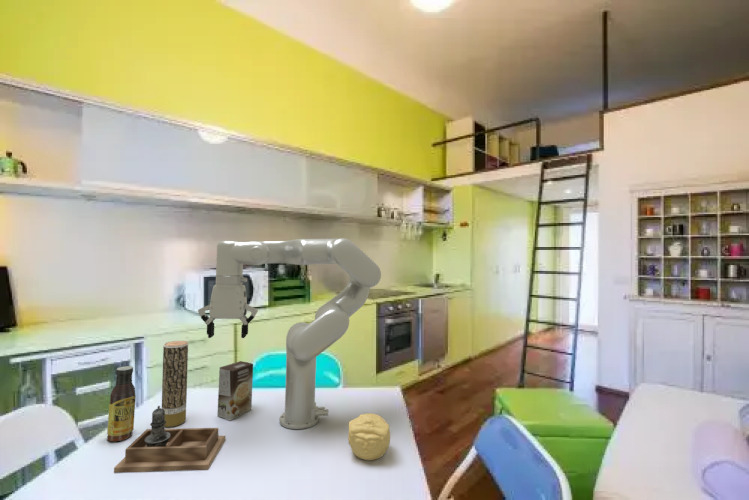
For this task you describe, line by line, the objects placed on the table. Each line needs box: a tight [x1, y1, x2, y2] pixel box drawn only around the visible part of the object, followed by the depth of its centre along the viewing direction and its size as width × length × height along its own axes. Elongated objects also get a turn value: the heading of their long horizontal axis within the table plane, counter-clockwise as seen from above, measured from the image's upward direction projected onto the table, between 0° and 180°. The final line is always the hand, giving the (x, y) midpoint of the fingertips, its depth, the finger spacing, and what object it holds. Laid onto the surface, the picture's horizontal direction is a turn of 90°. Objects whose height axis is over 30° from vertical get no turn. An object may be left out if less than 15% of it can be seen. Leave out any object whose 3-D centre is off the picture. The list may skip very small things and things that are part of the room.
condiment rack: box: [113, 427, 226, 473], centre depth 95 cm, size 22×14×4 cm, turn 96°
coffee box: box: [216, 360, 254, 421], centre depth 120 cm, size 9×6×16 cm
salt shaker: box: [145, 405, 170, 447], centre depth 95 cm, size 6×6×12 cm
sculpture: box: [347, 412, 391, 461], centre depth 98 cm, size 11×12×11 cm
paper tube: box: [161, 340, 189, 428], centre depth 112 cm, size 7×7×25 cm
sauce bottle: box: [106, 365, 137, 443], centre depth 103 cm, size 6×6×20 cm
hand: (227, 337), depth 109 cm, fingers open, 9 cm apart
